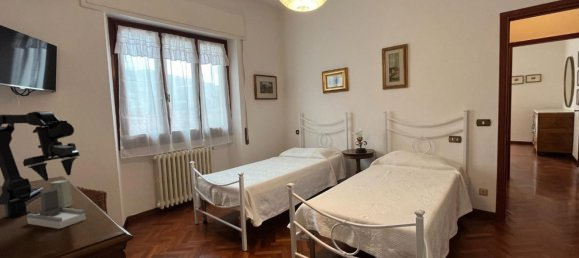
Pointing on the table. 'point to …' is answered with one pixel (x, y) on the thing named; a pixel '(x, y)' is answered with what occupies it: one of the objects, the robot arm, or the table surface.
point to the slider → (50, 203)
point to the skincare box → (63, 192)
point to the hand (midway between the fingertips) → (58, 177)
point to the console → (57, 218)
